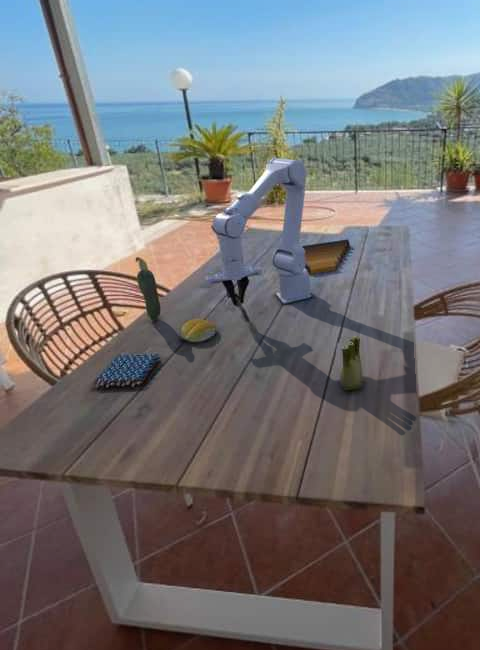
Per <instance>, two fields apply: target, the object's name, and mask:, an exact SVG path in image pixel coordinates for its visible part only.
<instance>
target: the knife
mask: <svg viewBox="0 0 480 650" xmlns="http://www.w3.org/2000/svg"><path fill="white" fill-rule="evenodd" d="M225 291H226V295H227V298H228V299H231V297H230V294H229V292H228V291H227V289H226V288H225ZM235 298H236V305H234V306H235V307H237V308H239V310H240V312H241V314H242V316H243V317H244V319H245V320H246V322H247V323H250V319H249V316H248V313H247V311H246V309H245V307H244V306H243V305H242V304H241V302H240V301H239V294H238V293H235Z"/></svg>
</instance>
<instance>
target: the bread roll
mask: <svg viewBox="0 0 480 650" xmlns="http://www.w3.org/2000/svg"><path fill="white" fill-rule="evenodd" d="M216 331H217V326H216V324H215V323H213V322H211V321H209V320H208V321H207V320H206V319H203V318H193V319H190V320H187V322H186V323H184V324H183V326H182V328H181V330H180V335H181V337H182V339H183V340H184V341H187V342H189V343H201V342H202V343H203V342H204V341H207V340H209V339H211V338H212V337H213V336H214V335H215V334H216Z"/></svg>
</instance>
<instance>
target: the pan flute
mask: <svg viewBox="0 0 480 650" xmlns="http://www.w3.org/2000/svg"><path fill="white" fill-rule="evenodd" d="M350 245H351V242H350V240H349V239H348V238H347V239H340V240H335V241H334V240H333V241H327V242H320V243H314V244H306V245H301V246H302V247H303V249H304V250H305V259H306V266H305V269H306V270H307V272H308V274H309V275H315V274H321V273H326V272H331V271H332V272H333V271H336V269H337V267H338V266H339V263H341V261H342V259H343V258H344V255H346V251H348V248H350Z"/></svg>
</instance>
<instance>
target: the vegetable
mask: <svg viewBox="0 0 480 650" xmlns="http://www.w3.org/2000/svg"><path fill="white" fill-rule="evenodd" d="M135 263H138V267H139V271H138V272H137V274H136V282H137V285H138V288H139V290H140V293H141V295H142V297H143V300H144V303H145V309H146V315H147V316H148V317H149V319H150V321H154V322H155V321H156V320H158V318H159V317H160V315H161V303H160V298H159V293H158V288H157V282H156V278H155V275H154V273H153V271H152V270H150V269H149V267H148V264H147V262H146V261H145V260H144V259H143V258H142V257H139V256H136V257H135Z"/></svg>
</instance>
